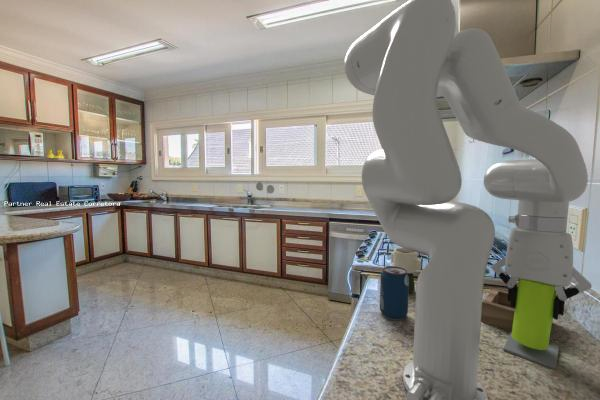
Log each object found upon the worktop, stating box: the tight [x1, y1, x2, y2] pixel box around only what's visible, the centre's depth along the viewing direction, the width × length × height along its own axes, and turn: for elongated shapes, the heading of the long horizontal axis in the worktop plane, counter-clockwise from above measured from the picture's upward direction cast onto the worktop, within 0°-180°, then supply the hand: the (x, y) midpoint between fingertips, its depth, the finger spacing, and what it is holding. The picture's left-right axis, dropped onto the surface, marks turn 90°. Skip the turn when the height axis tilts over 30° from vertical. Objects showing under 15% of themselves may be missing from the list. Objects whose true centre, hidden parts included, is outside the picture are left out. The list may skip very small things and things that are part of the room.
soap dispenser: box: [511, 279, 557, 350], centre depth 56 cm, size 6×7×20 cm
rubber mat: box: [502, 331, 560, 370], centre depth 57 cm, size 9×8×1 cm
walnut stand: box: [481, 288, 554, 332], centre depth 69 cm, size 12×12×5 cm
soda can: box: [379, 265, 410, 321], centre depth 71 cm, size 7×7×12 cm
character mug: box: [390, 247, 422, 293], centre depth 87 cm, size 11×7×13 cm, turn 31°
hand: (534, 310), depth 57 cm, fingers closed on soap dispenser, 6 cm apart
